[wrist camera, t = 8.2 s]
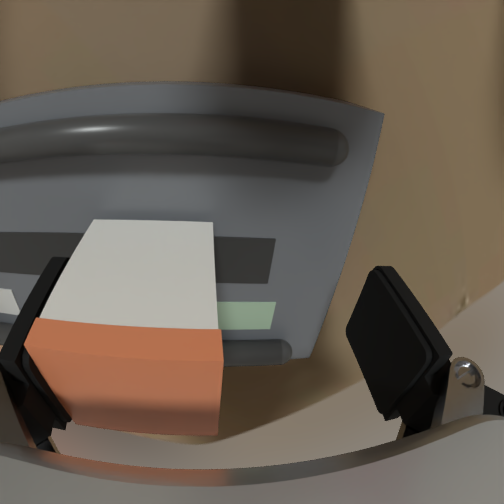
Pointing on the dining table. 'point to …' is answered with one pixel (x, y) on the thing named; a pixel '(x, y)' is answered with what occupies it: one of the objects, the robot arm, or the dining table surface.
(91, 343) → the lever
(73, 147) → the panel
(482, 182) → the dining table surface
